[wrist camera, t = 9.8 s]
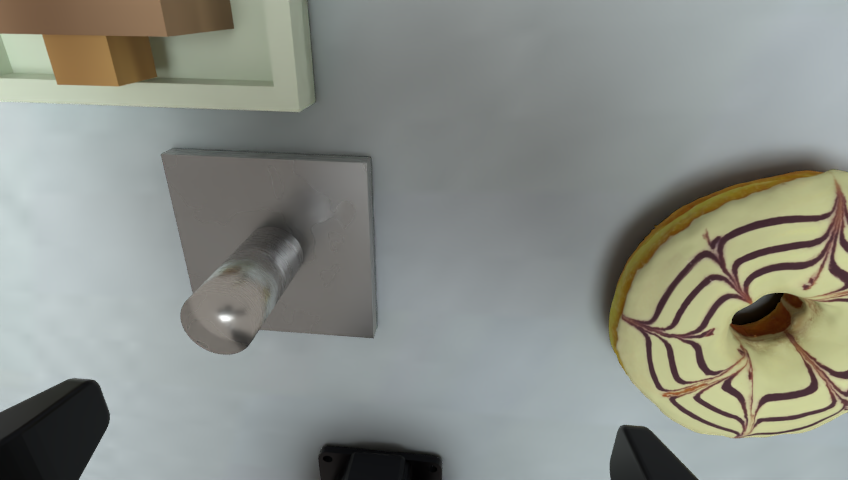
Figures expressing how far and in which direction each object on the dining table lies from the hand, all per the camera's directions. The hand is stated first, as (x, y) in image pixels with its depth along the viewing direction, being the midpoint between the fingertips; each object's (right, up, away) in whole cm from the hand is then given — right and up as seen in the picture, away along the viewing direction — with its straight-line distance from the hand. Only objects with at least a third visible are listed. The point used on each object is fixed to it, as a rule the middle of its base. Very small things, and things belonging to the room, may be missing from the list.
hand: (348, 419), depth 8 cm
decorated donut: (+14, +1, +12) cm, 18 cm away
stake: (-5, +3, +13) cm, 14 cm away
